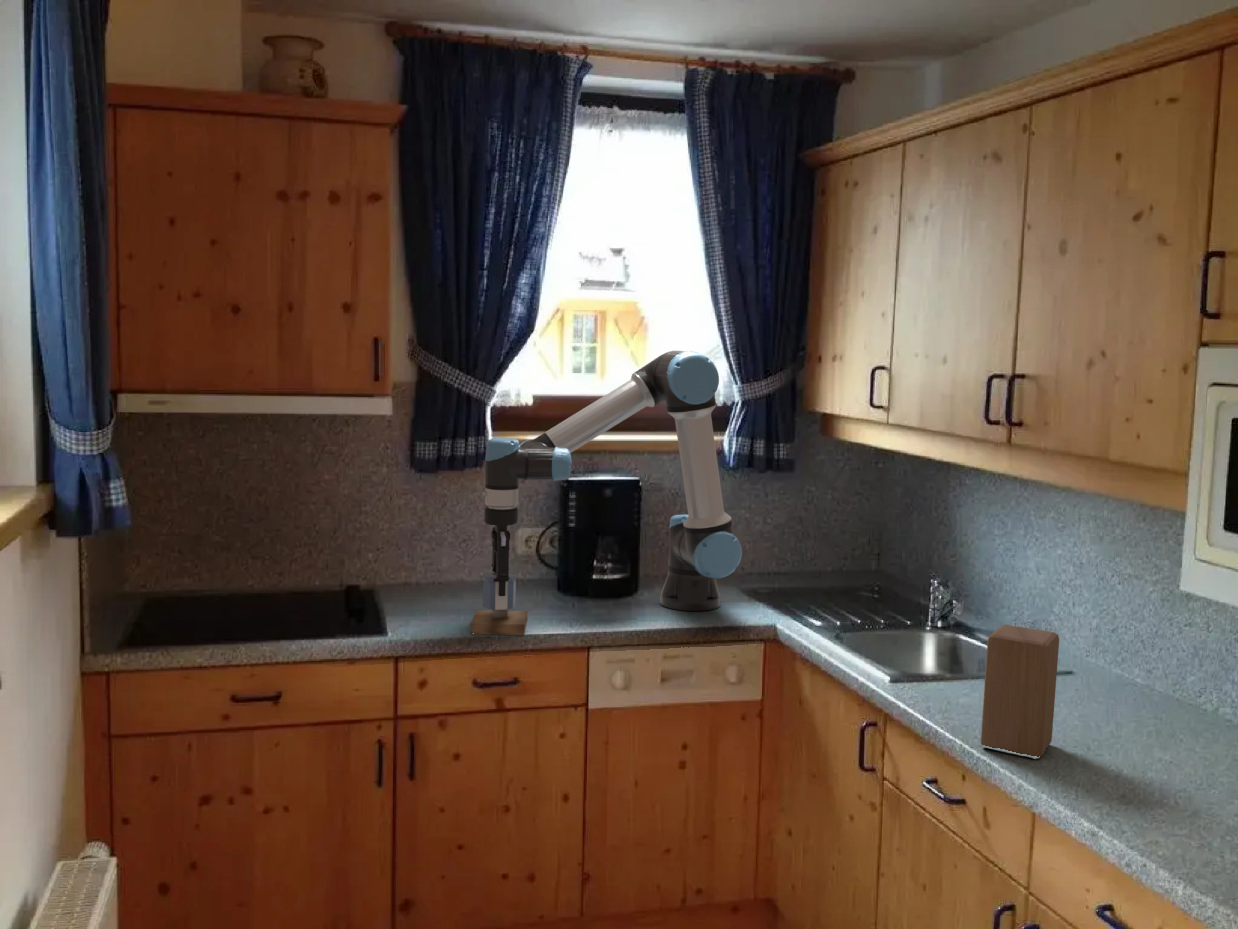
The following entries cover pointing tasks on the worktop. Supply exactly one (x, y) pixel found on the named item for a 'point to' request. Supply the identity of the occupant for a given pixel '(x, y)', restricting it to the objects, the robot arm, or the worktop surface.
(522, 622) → the stud block
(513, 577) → the cap
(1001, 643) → the wooden block
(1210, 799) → the worktop surface
